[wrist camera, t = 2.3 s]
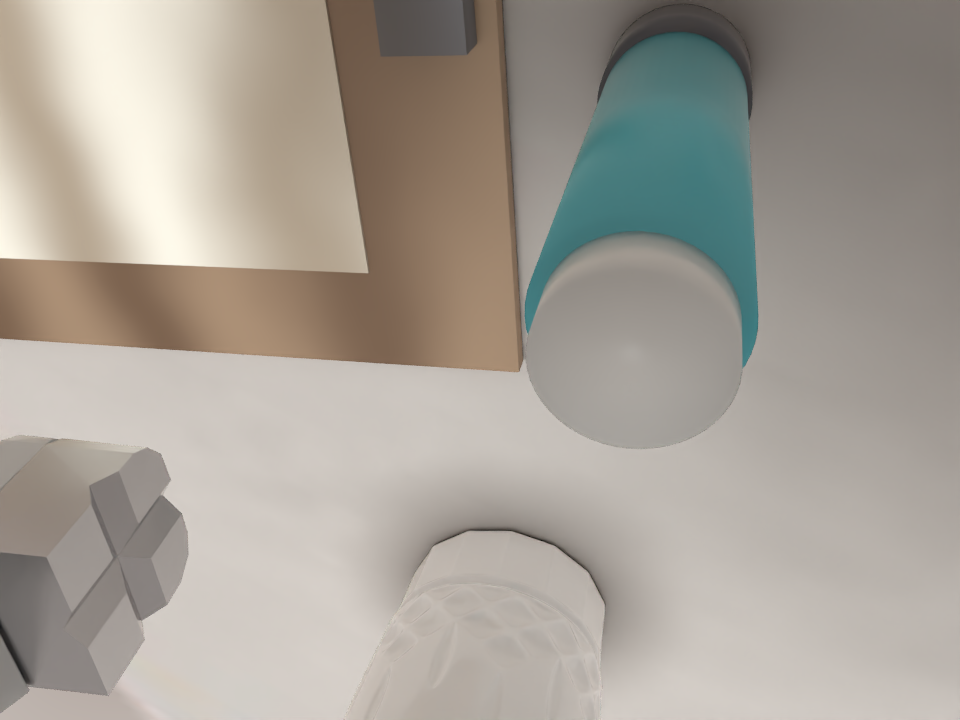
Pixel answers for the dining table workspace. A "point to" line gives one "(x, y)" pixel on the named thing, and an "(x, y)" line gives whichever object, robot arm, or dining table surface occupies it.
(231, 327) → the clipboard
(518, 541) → the white cup
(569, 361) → the thermos
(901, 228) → the dining table surface
